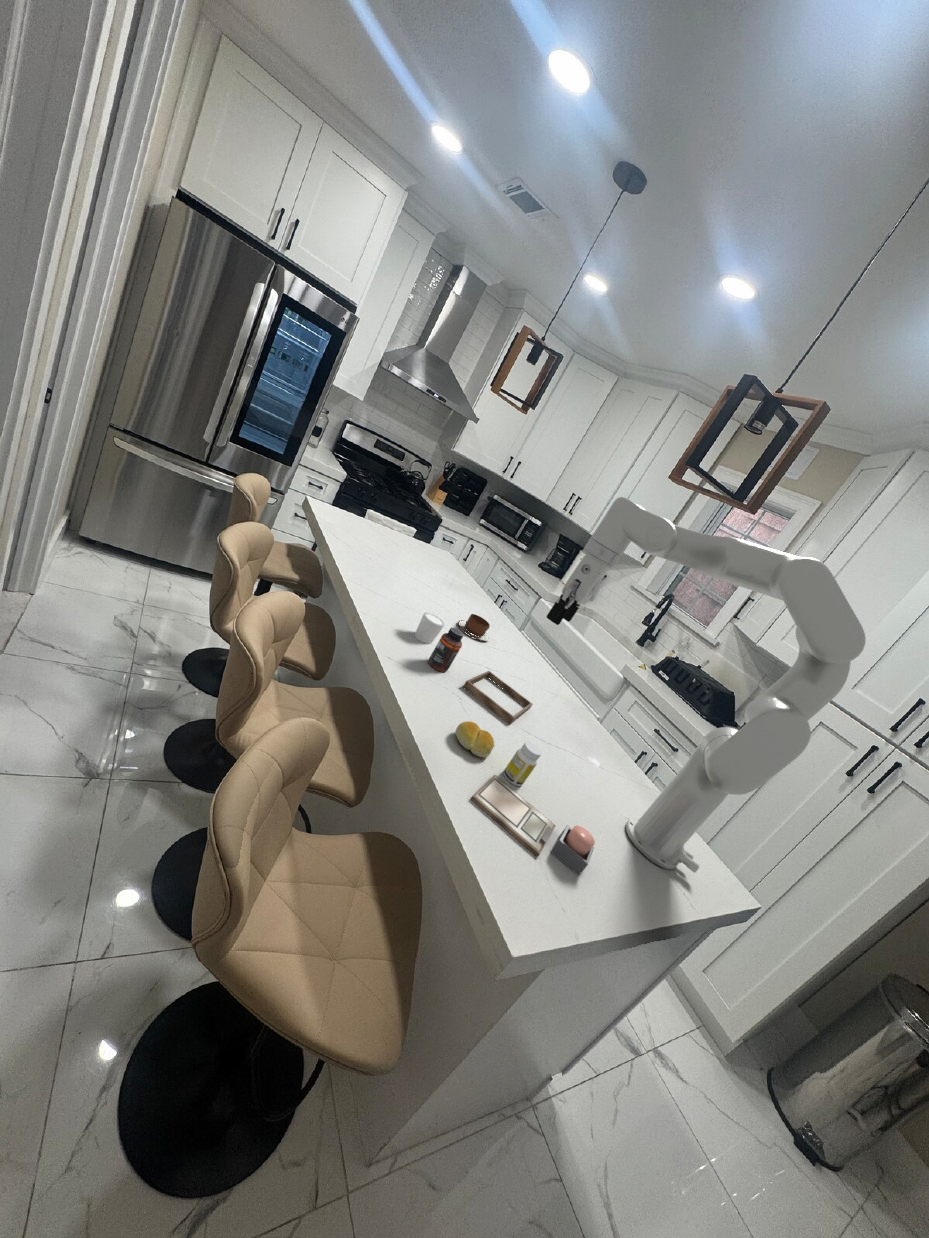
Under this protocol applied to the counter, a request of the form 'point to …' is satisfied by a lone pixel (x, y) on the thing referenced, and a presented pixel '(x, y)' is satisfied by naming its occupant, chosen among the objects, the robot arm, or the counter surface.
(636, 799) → the counter surface
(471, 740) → the bread roll
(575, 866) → the button housing
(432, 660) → the supplement bottle
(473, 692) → the frame
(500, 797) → the brown double tray
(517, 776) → the supplement bottle
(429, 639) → the white cup
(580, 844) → the button
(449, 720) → the counter surface
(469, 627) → the cup and saucer
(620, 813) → the counter surface
